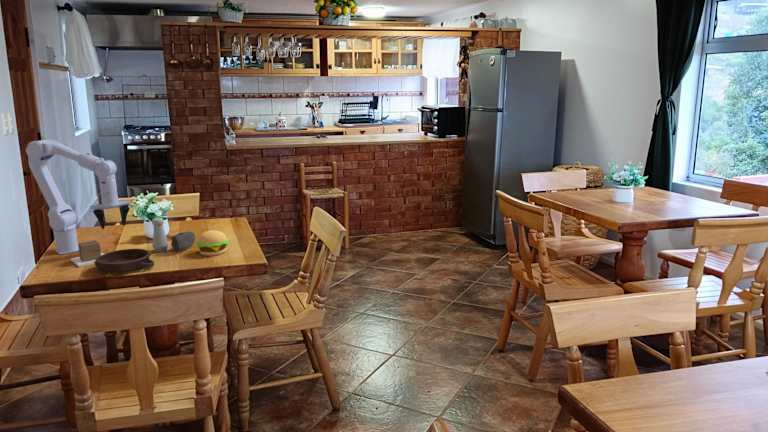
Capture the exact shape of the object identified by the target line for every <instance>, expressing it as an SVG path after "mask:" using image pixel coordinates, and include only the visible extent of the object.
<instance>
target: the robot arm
mask: <svg viewBox="0 0 768 432" xmlns="http://www.w3.org/2000/svg"><path fill="white" fill-rule="evenodd" d="M25 152H26V154H27V156H28V157H27V158H28V166H29V169H30V171H31V173H32V176H33V177H34V179H35V181H36V184H37V185H38V187H39V189H40V191H41V193H42V196H43V198H44V199H45V201H46V203H47V205H48V207H49V209H48V212H47V217H48V222H49V223H48V224H49V226H50V227H51V229H53V231H54V239H55V245H56V248H53V250H54V251H55V252H56V253H57V254H58V255H65V254H71V253H77V252H79V248H78V243H79V242H78V236H77V223H78V221H79V215H78V213H76V212H75V211H74V210H73V208H72V207H71V205H69V204H67V203H66V202H65V201H64V199H63V196H62V195H61V192H60V190H59V188H58V186H57V185H56V182H55V181H54V178H53V176H52V174H51V171H50V170H49V168H48V164H49V161H50V160H51V159H52V158H53V157H54V156H55V155H58V156H62V157H64V158H66V159H70V160H71V161H72V160H73V161H75V162H77V163H78V166H79V167H81V168H84V169H86V170H89V172H94V173H95V175H96V176H97V179H98V181H99V182H98V183H99V189H100V196H101V197H100V198H101V203H99V204H95V205H90V206H89V210H90V212H92V213H93V214H94V216H95V217H96V219H97V220H98V222H99V224H100V229H102V230H105V226H106V225H105V222H104V212H103V210H109V209H115V208H116V209H117V208H118V209H119V212H120V213H119V214H120V218H121V219H120V220H121V225H122V226H126V223H127V222H126V221H127V217H128V214H129V211H130V207H131V206H132V202H131V200H120V201H119V197H118V196H119V195H118V190H117V189H118V188H117V182H116V173H117V172H118V171H117V170H118V166H117V164H116V163H115V161H113V160H112V159H106V160H105V159H104V158H103V157H98V156H95V155H93V152H90V151H89V152H83V153H81V152H79V151H77V150H74V149H73V148H70V147H68V146H66V145H65V144H63V143H61V142H60V141H58V140H54V139H52V138H46V139H42V140H41V139H40V140H33V141H30V142H29V143H28V145H27V146H26V149H25Z"/></svg>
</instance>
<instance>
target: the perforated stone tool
mask: <svg viewBox="0 0 768 432" xmlns="http://www.w3.org/2000/svg"><path fill="white" fill-rule="evenodd" d="M170 239H171V244H170V245H171V248H172V249H173V250H172V251H174V252H175V253H180V252H184V251H186V250H187V249H189V248H191V247H192V246H193V245H194V243H195V241H196V235H195V233H194V232H193V231H182V232H178V233H176V234H174V235H172V236H170Z"/></svg>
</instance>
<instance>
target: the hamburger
mask: <svg viewBox="0 0 768 432" xmlns="http://www.w3.org/2000/svg"><path fill="white" fill-rule="evenodd" d="M229 241H230V240H229V238H227V236H226V234H225V233H224V232H222V231H220V230H216V229H211V230H207V231H204V232H202V234H200V235H199V237H198V240H196V242H195V243H196V245H197V250H198V251H199V253H200V254H201V255H203V256H205V257H207V256H208V257H210V256H211V257H213V256H215V257H216V256H220V255H223V254H225V253H226V252H227V250H228V247H227V246H228V245H229V243H228V242H229Z"/></svg>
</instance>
